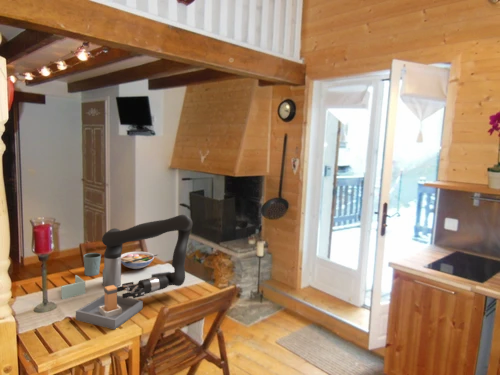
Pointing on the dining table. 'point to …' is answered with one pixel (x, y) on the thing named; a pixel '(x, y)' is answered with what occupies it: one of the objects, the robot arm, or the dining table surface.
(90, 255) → the teal tapered cup
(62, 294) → the l-shaped corner panel
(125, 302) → the walled box
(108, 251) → the robot arm
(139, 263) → the ramen bowl
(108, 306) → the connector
